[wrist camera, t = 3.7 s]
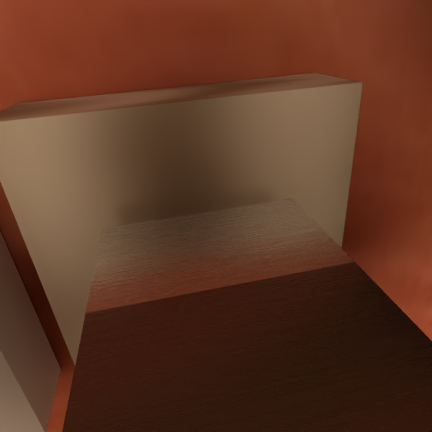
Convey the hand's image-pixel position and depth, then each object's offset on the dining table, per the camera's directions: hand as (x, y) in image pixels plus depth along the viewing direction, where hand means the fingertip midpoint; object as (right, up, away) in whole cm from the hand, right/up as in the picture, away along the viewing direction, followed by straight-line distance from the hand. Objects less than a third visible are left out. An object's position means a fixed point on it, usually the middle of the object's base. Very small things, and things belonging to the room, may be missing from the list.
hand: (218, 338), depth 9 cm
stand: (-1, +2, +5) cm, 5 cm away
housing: (0, 0, +1) cm, 1 cm away
